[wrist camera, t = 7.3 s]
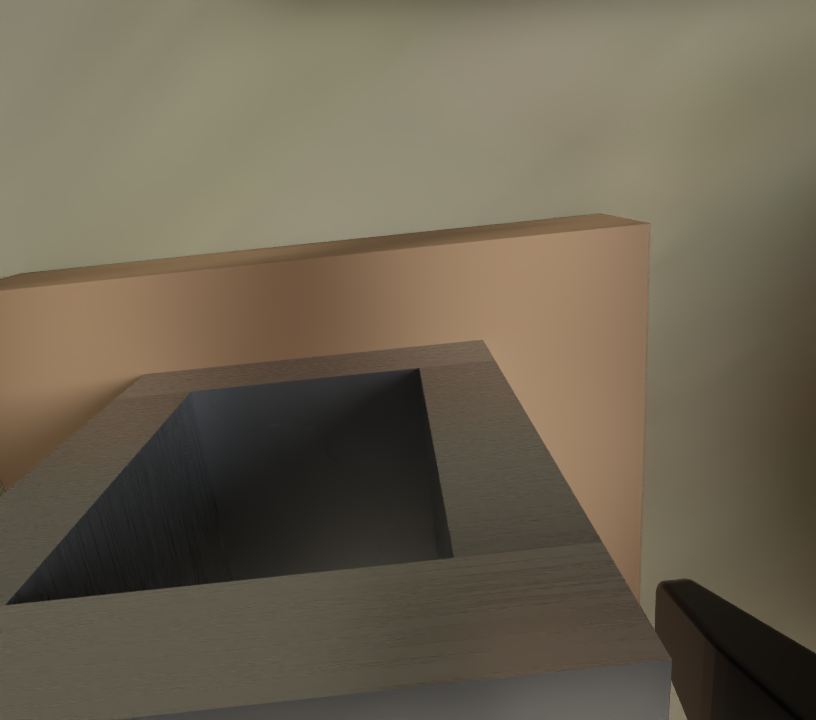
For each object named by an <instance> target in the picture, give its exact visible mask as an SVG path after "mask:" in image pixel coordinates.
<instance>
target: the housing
mask: <svg viewBox="0 0 816 720" xmlns="http://www.w3.org/2000/svg"><path fill="white" fill-rule="evenodd" d="M671 667H672V659H671V657H670V656H669V654H668V652H667V651H666V649H665V647H664V645H663V644H662V642H661V640H660V639H659V637H658V635H657V634H656V632H655V630H654V628H653V627H652V625H651V623H650V622H649V620H648V618H647V617H646V615H645V613H644V612H643V610H642V608H641V606H640V605H639V603H638V601H637V600H636V598H635V596H634V595H633V593H632V591H631V590H630V588H629V586H628V584H627V583H626V581H625V579H624V578H623V576H622V574H621V573H620V571H619V569H618V568H617V566H616V564H615V562H614V561H613V559H612V557H611V556H610V554H609V552H608V551H607V549H606V547H605V545H604V544H603V542H602V540H601V539H600V537H599V535H598V534H597V532H596V530H595V529H594V527H593V525H592V523H591V522H590V520H589V518H588V517H587V515H586V513H585V512H584V510H583V508H582V507H581V505H580V503H579V501H578V500H577V498H576V496H575V495H574V493H573V491H572V490H571V488H570V486H569V485H568V483H567V481H566V479H565V478H564V476H563V474H562V473H561V471H560V469H559V468H558V466H557V464H556V462H555V461H554V459H553V457H552V456H551V454H550V452H549V451H548V449H547V447H546V446H545V444H544V442H543V440H542V439H541V437H540V435H539V434H538V432H537V430H536V429H535V427H534V425H533V424H532V422H531V420H530V418H529V417H528V415H527V413H526V412H525V410H524V408H523V407H522V405H521V403H520V402H519V400H518V398H517V396H516V395H515V393H514V391H513V390H512V388H511V386H510V385H509V383H508V381H507V379H506V378H505V376H504V374H503V373H502V371H501V369H500V368H499V366H498V364H497V363H496V361H495V359H494V357H493V356H492V354H491V352H490V351H489V349H488V347H487V346H486V344H485V342H484V341H483V340H474V341H464V342H454V343H445V344H435V345H425V346H415V347H406V348H396V349H386V350H376V351H366V352H357V353H347V354H337V355H327V356H317V357H308V358H298V359H288V360H278V361H268V362H259V363H249V364H239V365H229V366H219V367H210V368H200V369H190V370H180V371H171V372H161V373H151V374H144V375H143V376H142V377H140V378H139V379H138V380H137V381H136V382H134V383H133V384H132V385H131V386H130V387H129V388H127V389H126V390H125V391H124V392H123V393H122V394H120V395H119V396H118V397H117V398H116V399H114V400H113V401H112V402H111V403H110V404H109V405H107V406H106V407H105V408H104V409H103V410H102V411H100V412H99V413H98V414H97V415H96V416H94V417H93V418H92V419H91V420H90V421H89V422H87V423H86V424H85V425H84V426H83V427H82V428H80V429H79V430H78V431H77V432H76V433H75V434H73V435H72V436H71V437H70V438H69V439H67V440H66V441H65V442H64V443H63V444H62V445H60V446H59V447H58V448H57V449H56V450H55V451H53V452H52V453H51V454H50V455H49V456H47V457H46V458H45V459H44V460H43V461H42V462H40V463H39V464H38V465H37V466H36V467H35V468H33V469H32V470H31V471H30V472H29V473H27V474H26V475H25V476H24V477H23V478H22V479H20V480H19V481H18V482H17V483H16V484H15V485H13V486H12V487H11V488H10V489H9V490H7V491H6V492H5V493H4V494H3V495H2V496H0V720H669V704H670V686H671Z"/></svg>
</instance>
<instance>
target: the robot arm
mask: <svg viewBox="0 0 816 720" xmlns="http://www.w3.org/2000/svg"><path fill="white" fill-rule="evenodd" d="M655 632H656V634H657V635H658V637H659V639H660V640H661V642H662V644H663V645H664V647H665V649H666V651H667V652H668V654H669V656H670V657H671V659H672V667H671V680H672V683H673V685H674V688H675V690H676V693H677V695H678V698H679V700H680V702H681V705H682V707H683V710H684V712H685V715H686V717H687V720H816V653H814V652H812V651H811V650H809V649H807V648H806V647H804V646H802V645H800V644H799V643H797V642H795V641H794V640H792V639H790V638H789V637H787V636H785V635H784V634H782V633H780V632H779V631H777V630H775V629H773V628H772V627H770V626H768V625H767V624H765V623H763V622H762V621H760V620H758V619H757V618H755V617H753V616H752V615H750V614H748V613H746V612H745V611H743V610H741V609H740V608H738V607H736V606H735V605H733V604H731V603H730V602H728V601H726V600H725V599H723V598H721V597H719V596H718V595H716V594H714V593H713V592H711V591H709V590H708V589H706V588H704V587H703V586H701V585H699V584H698V583H696V582H694V581H692V580H690V579H677V580H667V581H662V582H660V583H659V584H658V586H657V589H656V607H655Z"/></svg>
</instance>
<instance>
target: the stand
mask: <svg viewBox="0 0 816 720" xmlns="http://www.w3.org/2000/svg"><path fill="white" fill-rule="evenodd" d="M649 247H650V223H645V222H640V221H635V220H630V219H625V218H620V217H615V216H610V215H605V214H592V215H582V216H573V217H563V218H553V219H544V220H534V221H524V222H515V223H505V224H495V225H486V226H476V227H466V228H457V229H447V230H437V231H428V232H418V233H408V234H399V235H389V236H379V237H370V238H360V239H350V240H341V241H331V242H321V243H312V244H302V245H292V246H283V247H273V248H263V249H254V250H244V251H234V252H225V253H215V254H205V255H196V256H186V257H176V258H167V259H157V260H147V261H137V262H128V263H118V264H108V265H99V266H89V267H79V268H70V269H60V270H50V271H41V272H31V273H21V274H18V275H14V276H10V277H7V278H3V279H0V480H1V483H2V486H3V489H4V491H5V492H6V491H7V490H9V489H10V488H11V487H12V486H13V485H15V484H16V483H17V482H18V481H19V480H20V479H22V478H23V477H24V476H25V475H26V474H27V473H29V472H30V471H31V470H32V469H33V468H35V467H36V466H37V465H38V464H39V463H40V462H42V461H43V460H44V459H45V458H46V457H47V456H49V455H50V454H51V453H52V452H53V451H55V450H56V449H57V448H58V447H59V446H60V445H62V444H63V443H64V442H65V441H66V440H67V439H69V438H70V437H71V436H72V435H73V434H75V433H76V432H77V431H78V430H79V429H80V428H82V427H83V426H84V425H85V424H86V423H87V422H89V421H90V420H91V419H92V418H93V417H94V416H96V415H97V414H98V413H99V412H100V411H102V410H103V409H104V408H105V407H106V406H107V405H109V404H110V403H111V402H112V401H113V400H114V399H116V398H117V397H118V396H119V395H120V394H122V393H123V392H124V391H125V390H126V389H127V388H129V387H130V386H131V385H132V384H133V383H134V382H136V381H137V380H138V379H139V378H140V377H142V376H143V375H144V374H151V373H161V372H171V371H180V370H190V369H200V368H210V367H219V366H229V365H239V364H249V363H259V362H268V361H278V360H288V359H298V358H308V357H317V356H327V355H337V354H347V353H357V352H366V351H376V350H386V349H396V348H406V347H415V346H425V345H435V344H445V343H454V342H464V341H474V340H483V341H484V342H485V344H486V346H487V347H488V349H489V351H490V352H491V354H492V356H493V357H494V359H495V361H496V363H497V364H498V366H499V368H500V369H501V371H502V373H503V374H504V376H505V378H506V379H507V381H508V383H509V385H510V386H511V388H512V390H513V391H514V393H515V395H516V396H517V398H518V400H519V402H520V403H521V405H522V407H523V408H524V410H525V412H526V413H527V415H528V417H529V418H530V420H531V422H532V424H533V425H534V427H535V429H536V430H537V432H538V434H539V435H540V437H541V439H542V440H543V442H544V444H545V446H546V447H547V449H548V451H549V452H550V454H551V456H552V457H553V459H554V461H555V462H556V464H557V466H558V468H559V469H560V471H561V473H562V474H563V476H564V478H565V479H566V481H567V483H568V485H569V486H570V488H571V490H572V491H573V493H574V495H575V496H576V498H577V500H578V501H579V503H580V505H581V507H582V508H583V510H584V512H585V513H586V515H587V517H588V518H589V520H590V522H591V523H592V525H593V527H594V529H595V530H596V532H597V534H598V535H599V537H600V539H601V540H602V542H603V544H604V545H605V547H606V549H607V551H608V552H609V554H610V556H611V557H612V559H613V561H614V562H615V564H616V566H617V568H618V569H619V571H620V573H621V574H622V576H623V578H624V579H625V581H626V583H627V584H628V586H629V588H630V590H631V591H632V593H633V595H634V596H635V598H636V600H637V601H638V603H640V568H641V532H642V497H643V461H644V425H645V390H646V354H647V318H648V283H649Z"/></svg>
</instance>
